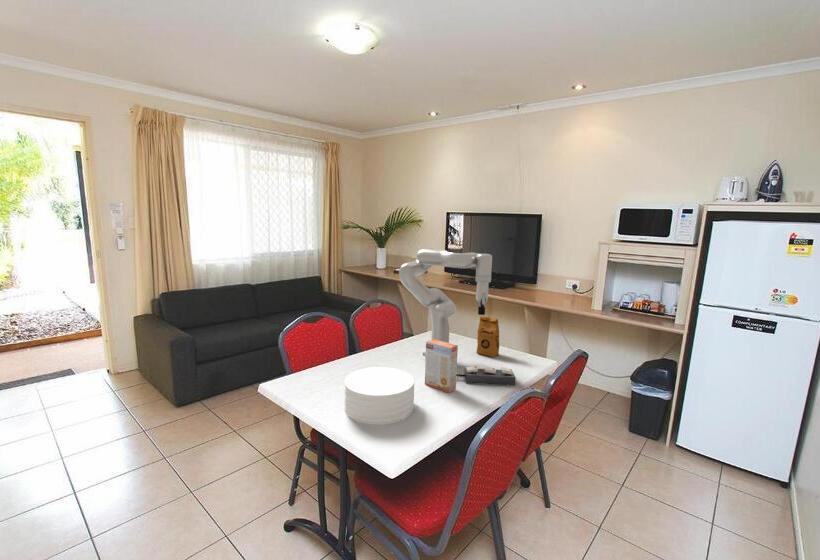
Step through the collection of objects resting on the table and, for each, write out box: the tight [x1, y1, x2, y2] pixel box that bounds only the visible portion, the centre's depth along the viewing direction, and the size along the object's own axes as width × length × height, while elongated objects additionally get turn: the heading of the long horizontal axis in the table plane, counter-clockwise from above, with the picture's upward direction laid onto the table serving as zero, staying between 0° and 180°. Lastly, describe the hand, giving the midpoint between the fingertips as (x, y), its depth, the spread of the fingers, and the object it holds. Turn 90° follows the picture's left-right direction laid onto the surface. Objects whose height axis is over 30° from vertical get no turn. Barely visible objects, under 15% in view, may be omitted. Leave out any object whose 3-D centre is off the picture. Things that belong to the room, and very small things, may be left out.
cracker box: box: [424, 339, 459, 393], centre depth 175 cm, size 14×6×21 cm, turn 49°
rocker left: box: [465, 365, 479, 373], centre depth 185 cm, size 5×4×1 cm
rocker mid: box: [483, 365, 497, 374], centre depth 184 cm, size 5×4×1 cm
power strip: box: [456, 367, 517, 387], centre depth 185 cm, size 29×9×5 cm, turn 86°
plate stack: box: [343, 366, 415, 425], centre depth 156 cm, size 28×28×12 cm
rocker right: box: [500, 366, 514, 375], centre depth 184 cm, size 5×4×1 cm
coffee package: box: [476, 315, 500, 358], centre depth 221 cm, size 10×12×22 cm
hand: (481, 314), depth 195 cm, fingers closed
